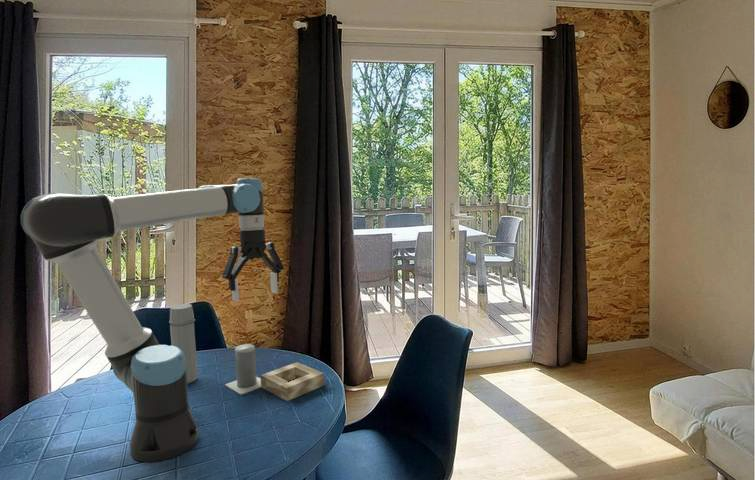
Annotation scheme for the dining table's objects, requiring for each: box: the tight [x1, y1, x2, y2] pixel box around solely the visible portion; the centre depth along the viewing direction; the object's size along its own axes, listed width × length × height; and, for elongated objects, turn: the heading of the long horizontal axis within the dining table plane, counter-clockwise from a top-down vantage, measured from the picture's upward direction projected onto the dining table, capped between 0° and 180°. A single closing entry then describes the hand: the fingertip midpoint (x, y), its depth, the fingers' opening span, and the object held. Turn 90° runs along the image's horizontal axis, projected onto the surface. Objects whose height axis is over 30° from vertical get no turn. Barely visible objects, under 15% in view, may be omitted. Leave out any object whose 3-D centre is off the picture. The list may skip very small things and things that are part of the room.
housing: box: [260, 361, 325, 402], centre depth 140 cm, size 14×14×4 cm
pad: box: [224, 375, 262, 396], centre depth 142 cm, size 10×10×1 cm
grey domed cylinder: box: [234, 343, 257, 388], centre depth 141 cm, size 6×6×12 cm
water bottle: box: [168, 303, 199, 385], centre depth 145 cm, size 9×8×25 cm
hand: (255, 296), depth 138 cm, fingers open, 13 cm apart
